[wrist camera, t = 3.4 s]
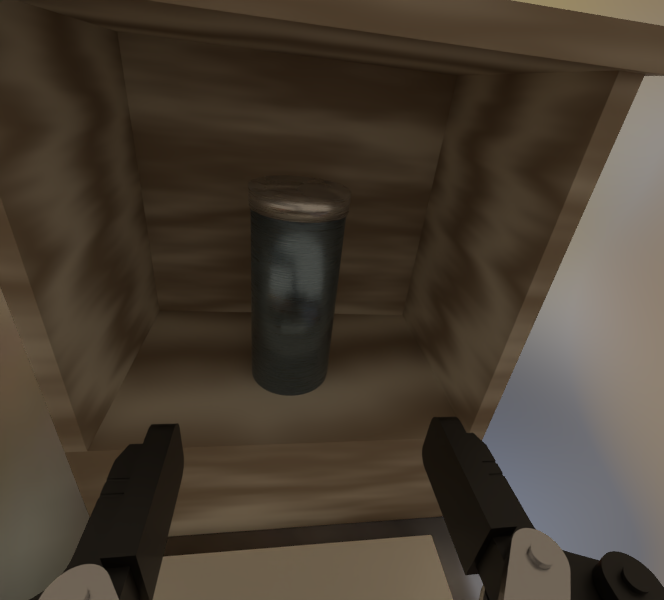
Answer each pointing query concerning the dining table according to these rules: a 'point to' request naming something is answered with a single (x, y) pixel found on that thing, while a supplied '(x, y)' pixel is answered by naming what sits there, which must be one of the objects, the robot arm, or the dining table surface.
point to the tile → (310, 572)
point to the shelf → (235, 225)
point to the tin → (294, 278)
